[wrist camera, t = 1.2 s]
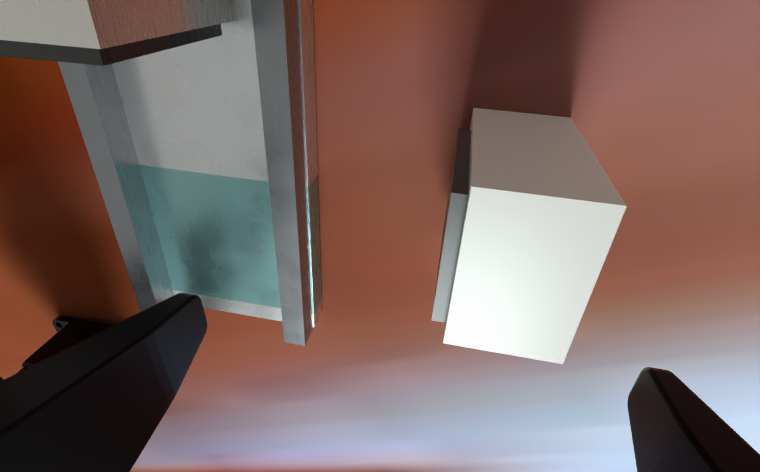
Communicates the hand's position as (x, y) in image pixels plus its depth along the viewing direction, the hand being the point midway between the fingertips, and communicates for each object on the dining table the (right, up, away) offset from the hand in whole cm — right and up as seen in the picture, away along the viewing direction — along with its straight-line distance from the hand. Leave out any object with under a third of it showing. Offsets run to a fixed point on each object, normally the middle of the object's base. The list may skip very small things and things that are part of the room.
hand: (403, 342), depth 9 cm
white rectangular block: (+5, +5, +11) cm, 13 cm away
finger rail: (-8, +8, +12) cm, 17 cm away
